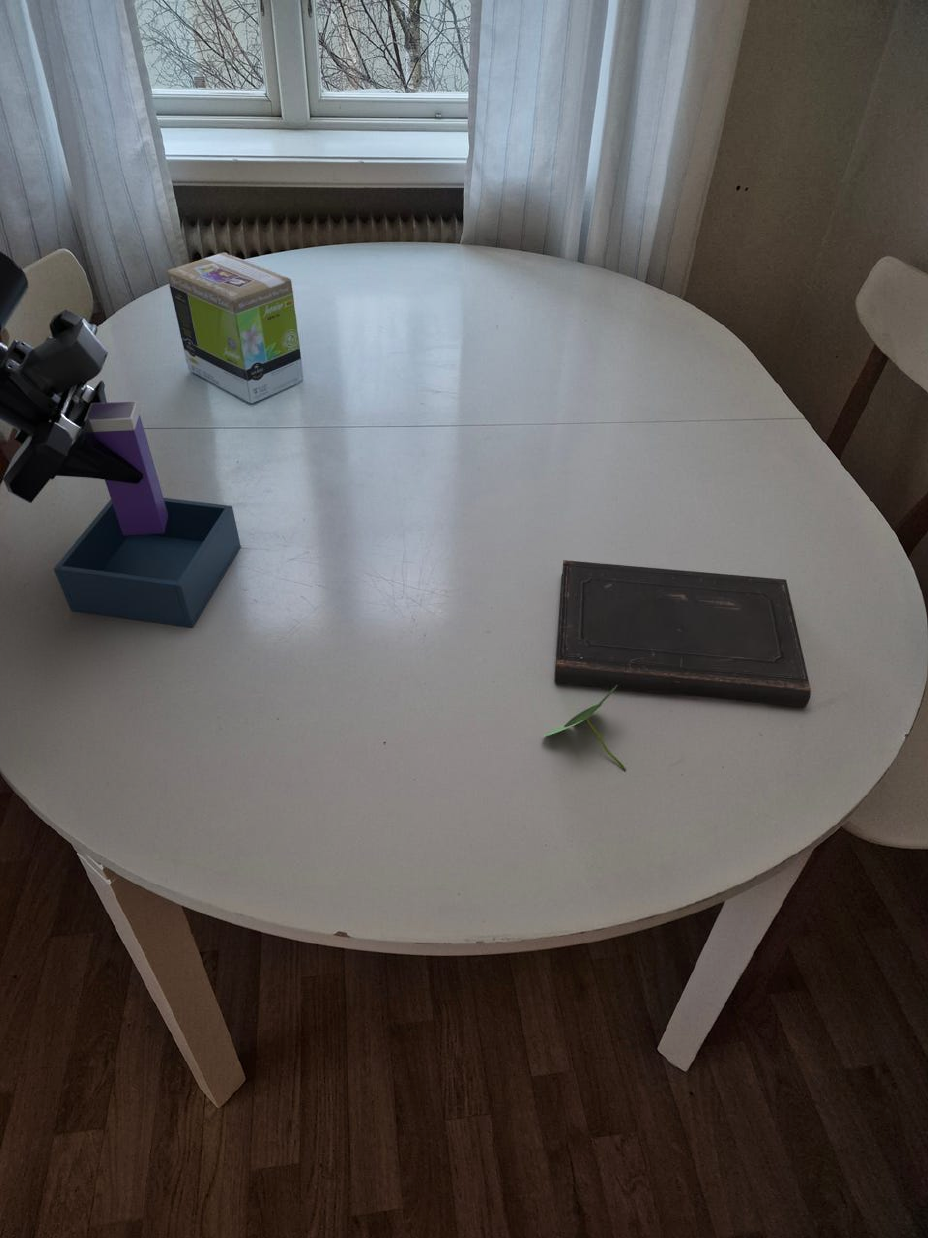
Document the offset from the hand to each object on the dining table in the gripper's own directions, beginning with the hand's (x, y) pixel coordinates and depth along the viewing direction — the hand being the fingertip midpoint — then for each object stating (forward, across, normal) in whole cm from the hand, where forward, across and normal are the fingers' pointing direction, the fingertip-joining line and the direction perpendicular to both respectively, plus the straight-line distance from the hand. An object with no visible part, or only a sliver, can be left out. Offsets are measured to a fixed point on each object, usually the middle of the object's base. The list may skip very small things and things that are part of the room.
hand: (143, 469), depth 82 cm
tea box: (+13, +44, +7) cm, 47 cm away
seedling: (+37, -26, -17) cm, 49 cm away
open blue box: (+8, 0, +11) cm, 14 cm away
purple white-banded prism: (+4, 0, +6) cm, 7 cm away
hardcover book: (+45, -14, -26) cm, 54 cm away
